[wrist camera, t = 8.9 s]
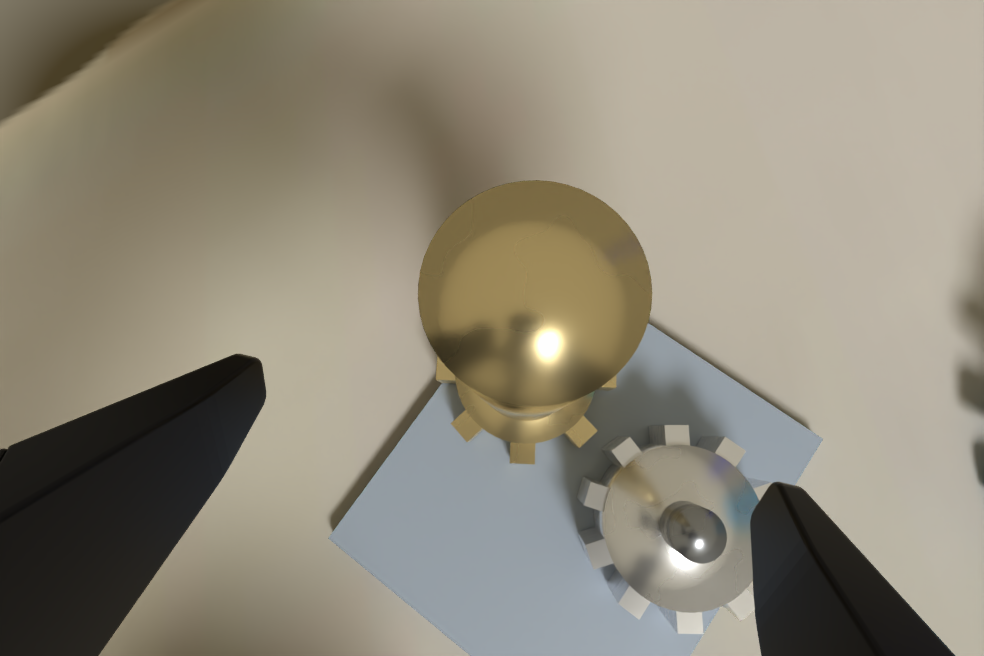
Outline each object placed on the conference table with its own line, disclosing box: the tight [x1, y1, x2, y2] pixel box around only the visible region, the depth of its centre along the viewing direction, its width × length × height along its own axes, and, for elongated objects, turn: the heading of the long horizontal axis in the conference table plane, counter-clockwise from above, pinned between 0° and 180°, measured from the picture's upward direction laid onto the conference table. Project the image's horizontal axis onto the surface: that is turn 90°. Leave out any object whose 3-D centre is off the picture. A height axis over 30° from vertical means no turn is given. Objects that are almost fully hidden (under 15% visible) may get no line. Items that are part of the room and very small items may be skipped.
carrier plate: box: [328, 323, 823, 656], centre depth 20 cm, size 14×13×1 cm
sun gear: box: [577, 425, 772, 634], centre depth 18 cm, size 6×6×4 cm
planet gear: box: [418, 180, 652, 465], centre depth 15 cm, size 7×7×13 cm
